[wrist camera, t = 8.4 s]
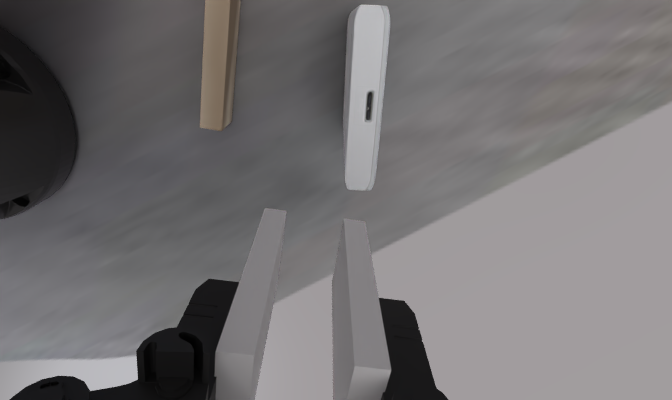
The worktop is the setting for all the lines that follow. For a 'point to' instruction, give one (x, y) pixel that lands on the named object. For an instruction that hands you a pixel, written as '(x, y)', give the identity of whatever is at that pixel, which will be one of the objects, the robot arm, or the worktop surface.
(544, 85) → the worktop surface
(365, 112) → the hard drive
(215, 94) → the birch rack
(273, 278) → the robot arm
